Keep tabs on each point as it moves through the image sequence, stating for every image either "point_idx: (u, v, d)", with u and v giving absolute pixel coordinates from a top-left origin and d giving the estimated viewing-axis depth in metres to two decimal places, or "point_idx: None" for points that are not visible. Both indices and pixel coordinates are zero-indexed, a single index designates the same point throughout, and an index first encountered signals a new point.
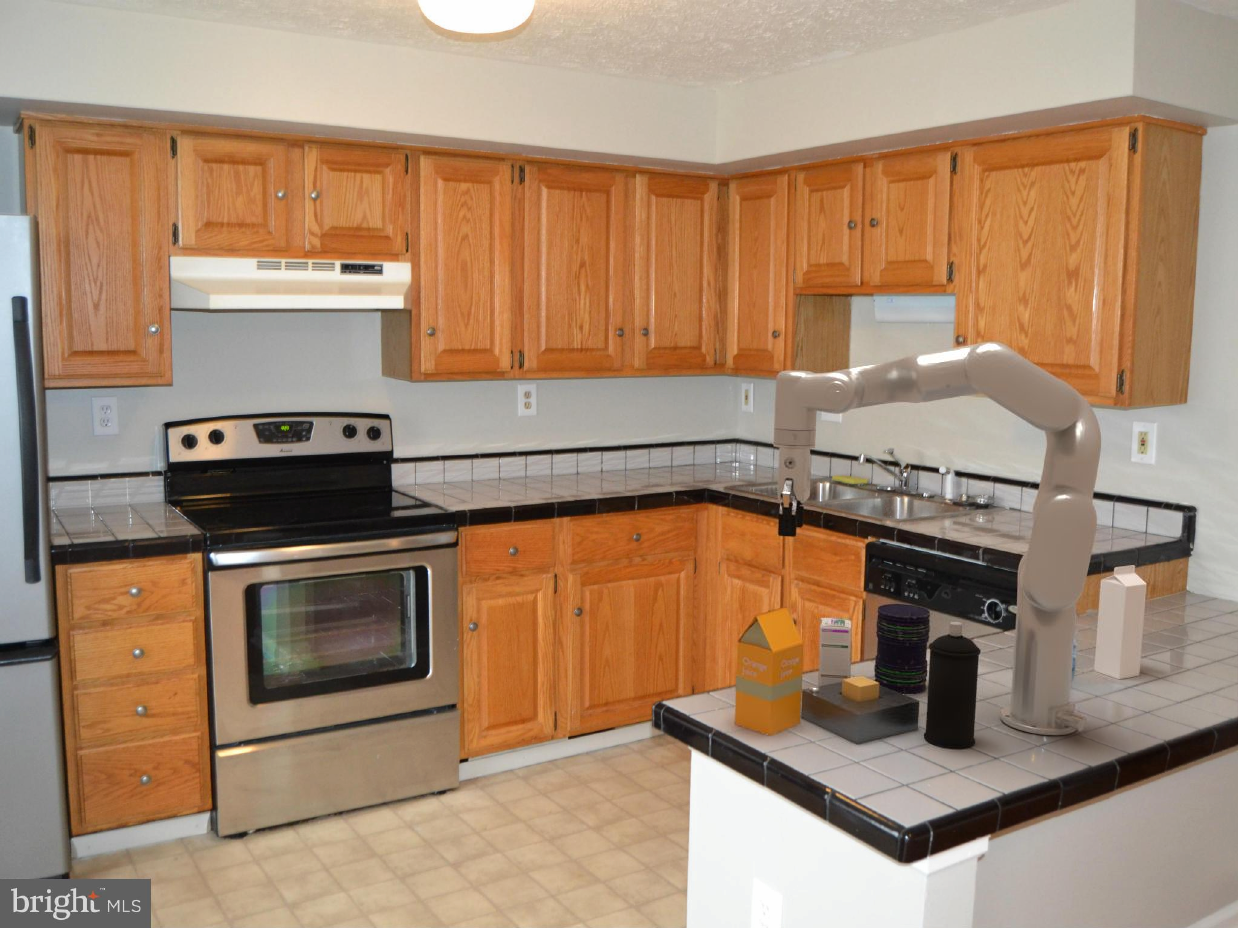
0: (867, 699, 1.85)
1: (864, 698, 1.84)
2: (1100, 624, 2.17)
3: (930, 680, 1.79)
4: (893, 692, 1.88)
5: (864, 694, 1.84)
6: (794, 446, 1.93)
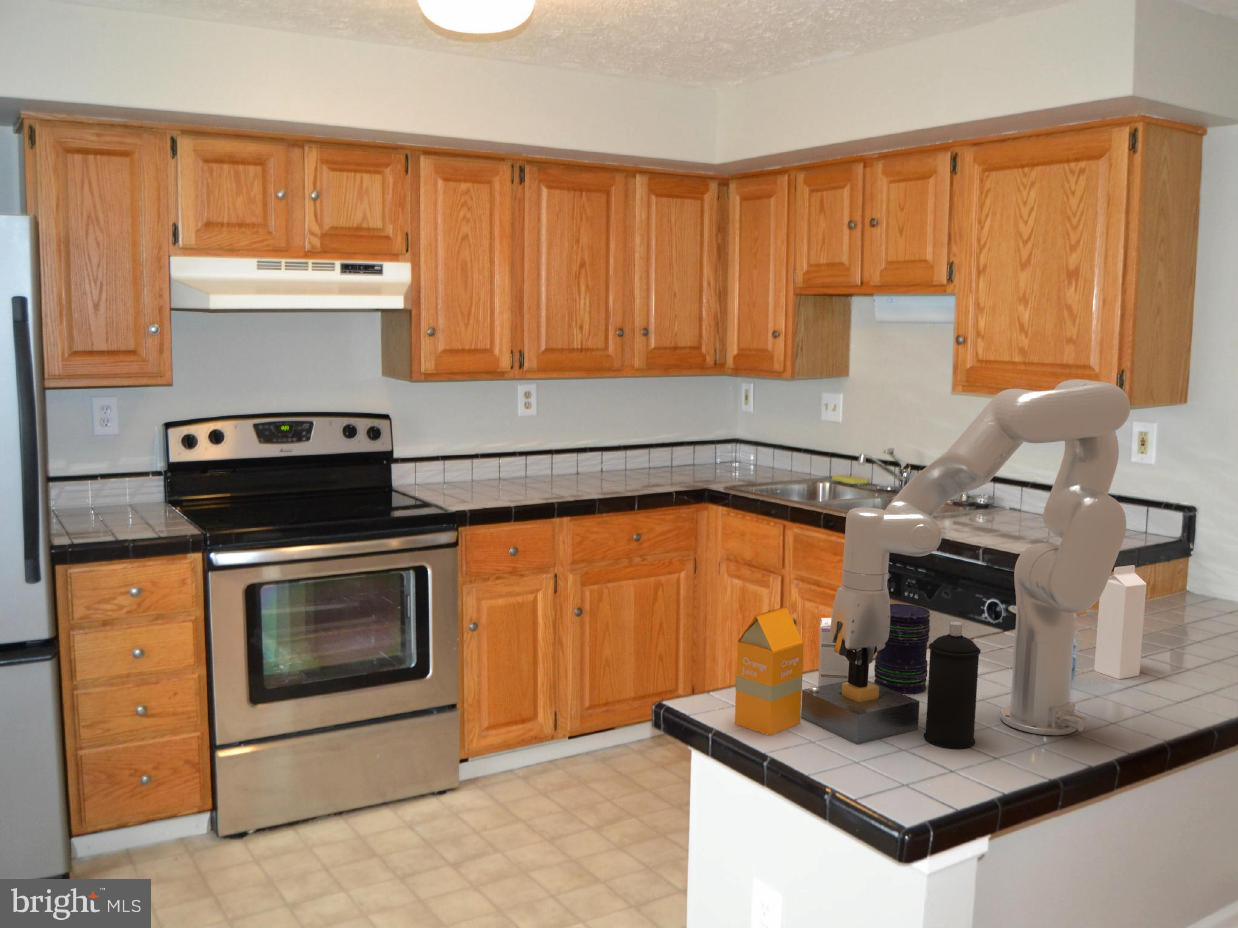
0: None
1: None
2: (1100, 624, 2.17)
3: (930, 680, 1.79)
4: (893, 692, 1.88)
5: (864, 698, 1.84)
6: None
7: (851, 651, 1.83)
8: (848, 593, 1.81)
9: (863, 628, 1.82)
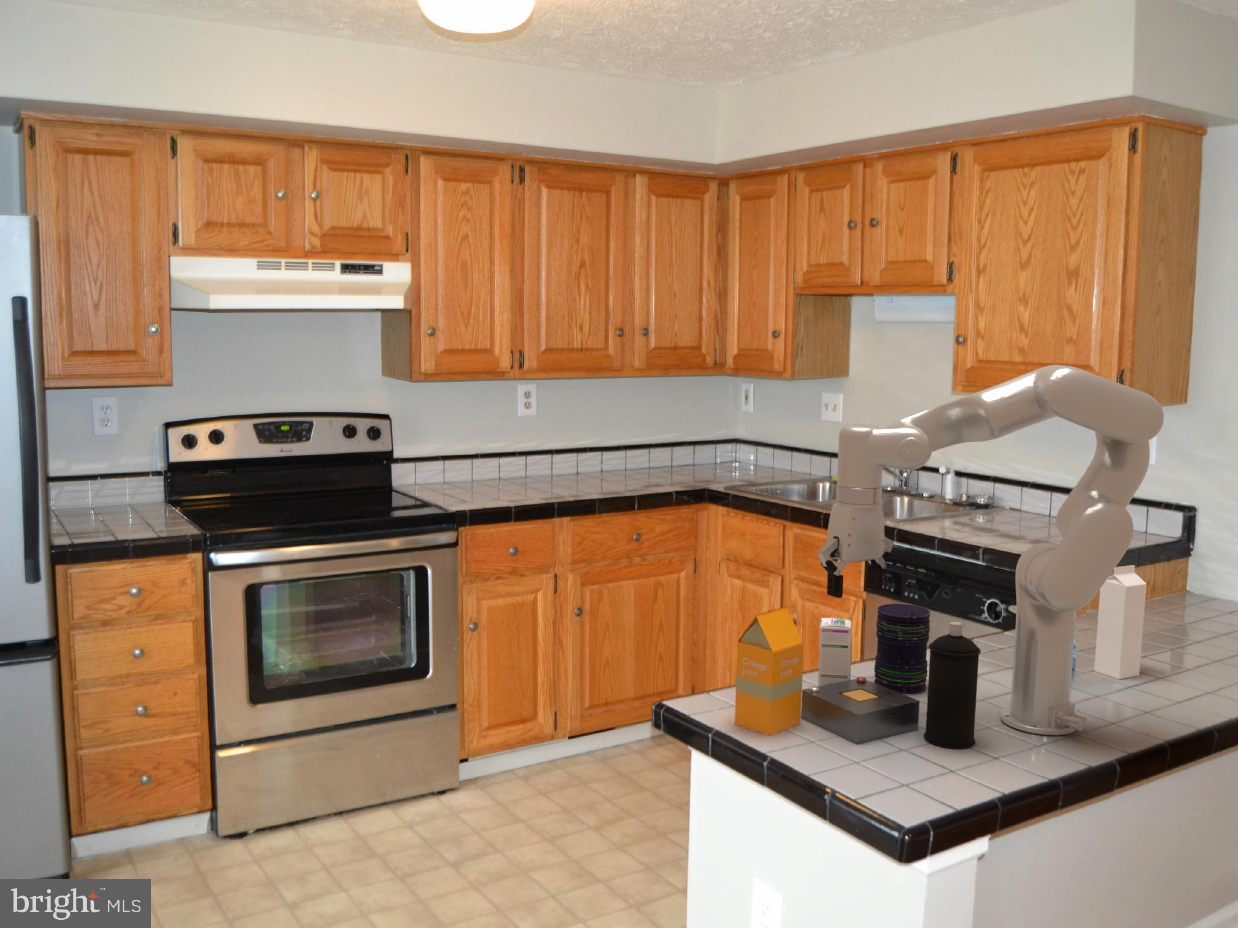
0: None
1: None
2: (1100, 624, 2.17)
3: (930, 680, 1.79)
4: (893, 692, 1.88)
5: None
6: None
7: (830, 561, 1.84)
8: (843, 508, 1.84)
9: (859, 542, 1.85)
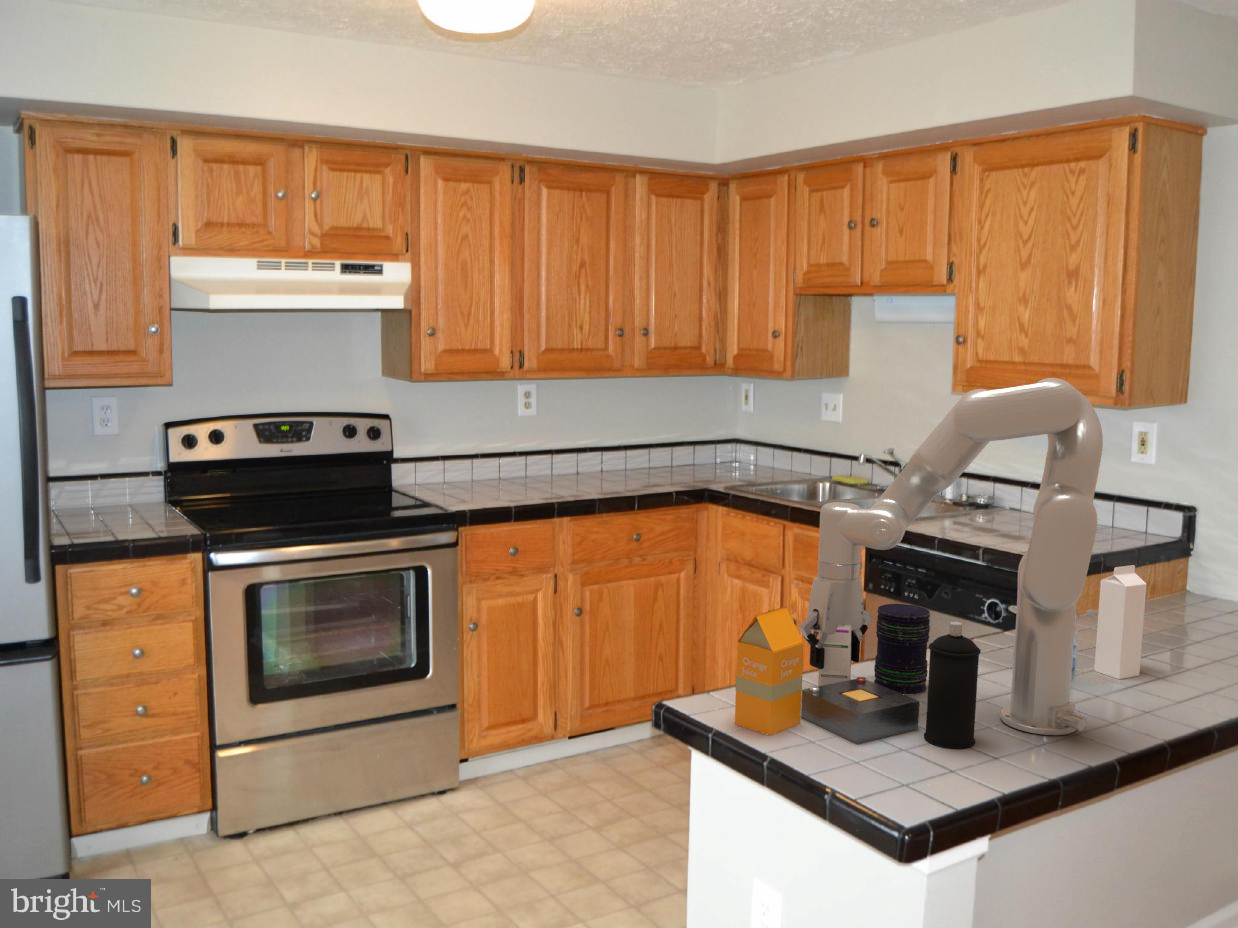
0: None
1: None
2: (1100, 624, 2.17)
3: (930, 680, 1.79)
4: (893, 692, 1.88)
5: None
6: None
7: (811, 635, 1.94)
8: (823, 582, 1.94)
9: (838, 615, 1.95)
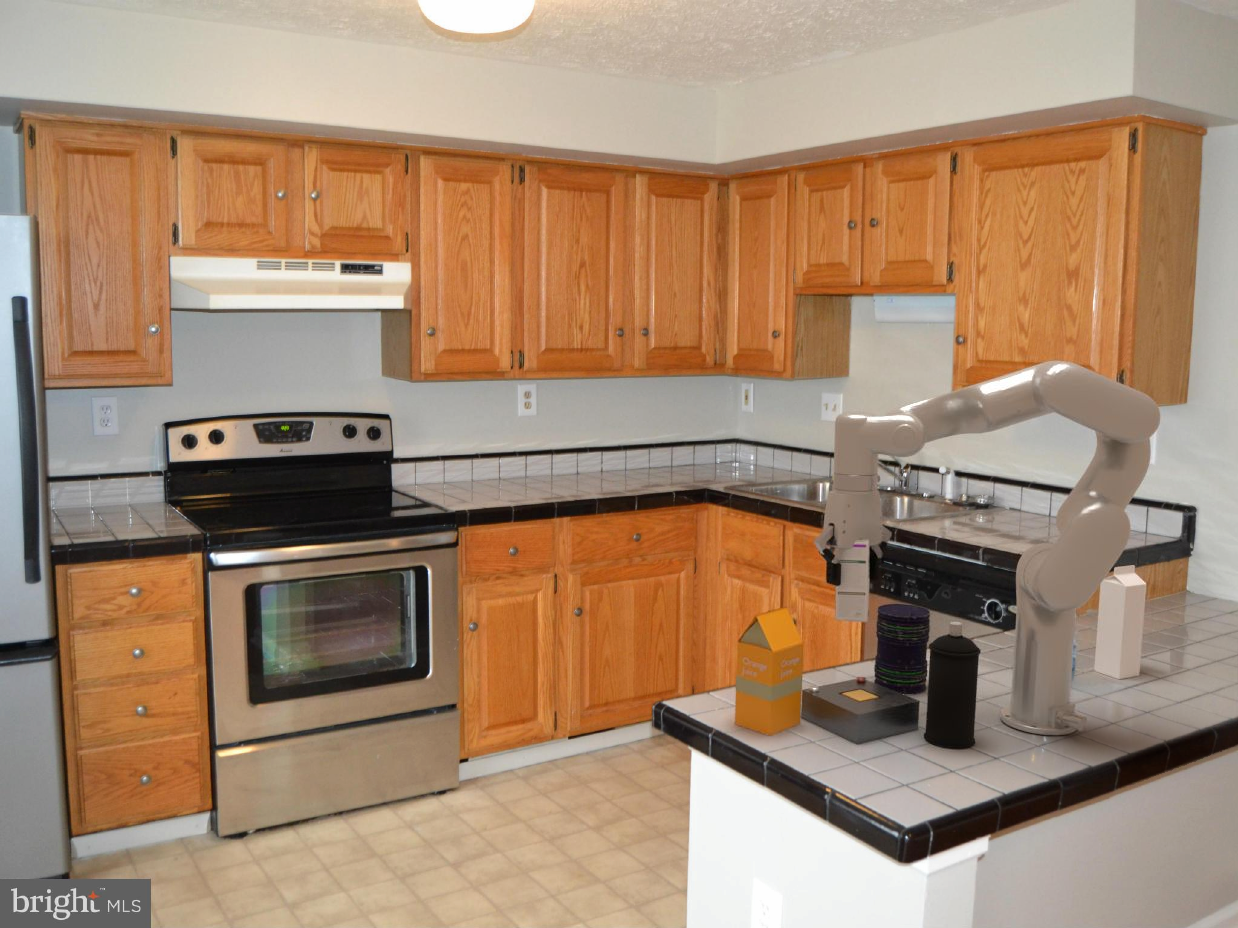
0: None
1: None
2: (1100, 624, 2.17)
3: (930, 680, 1.79)
4: (893, 692, 1.88)
5: None
6: None
7: (827, 549, 1.86)
8: (839, 494, 1.86)
9: (855, 528, 1.87)
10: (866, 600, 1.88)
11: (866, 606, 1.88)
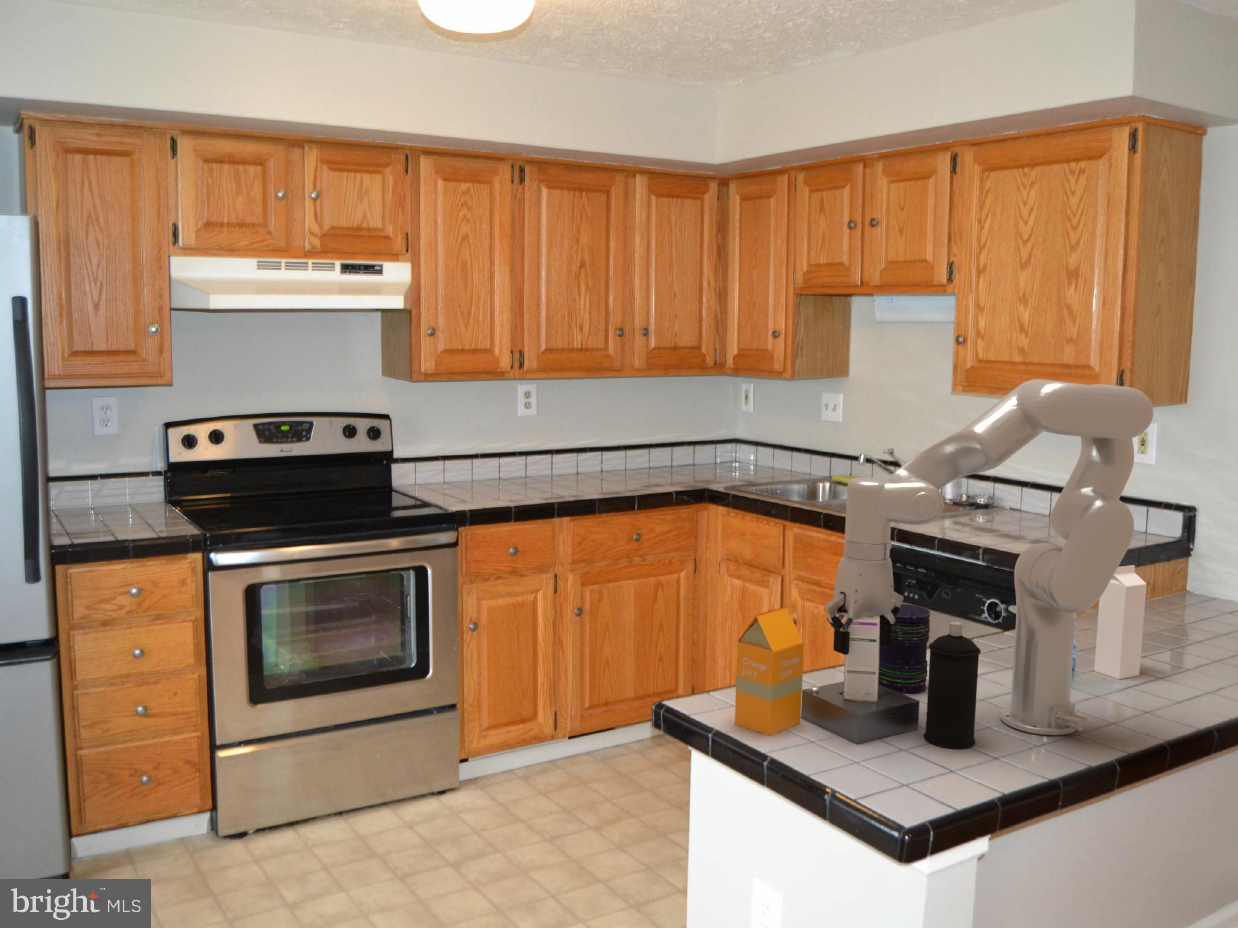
0: None
1: None
2: (1100, 624, 2.17)
3: (930, 680, 1.79)
4: (893, 692, 1.88)
5: None
6: None
7: (836, 617, 1.80)
8: (850, 563, 1.81)
9: (866, 598, 1.82)
10: (876, 679, 1.83)
11: (876, 685, 1.83)
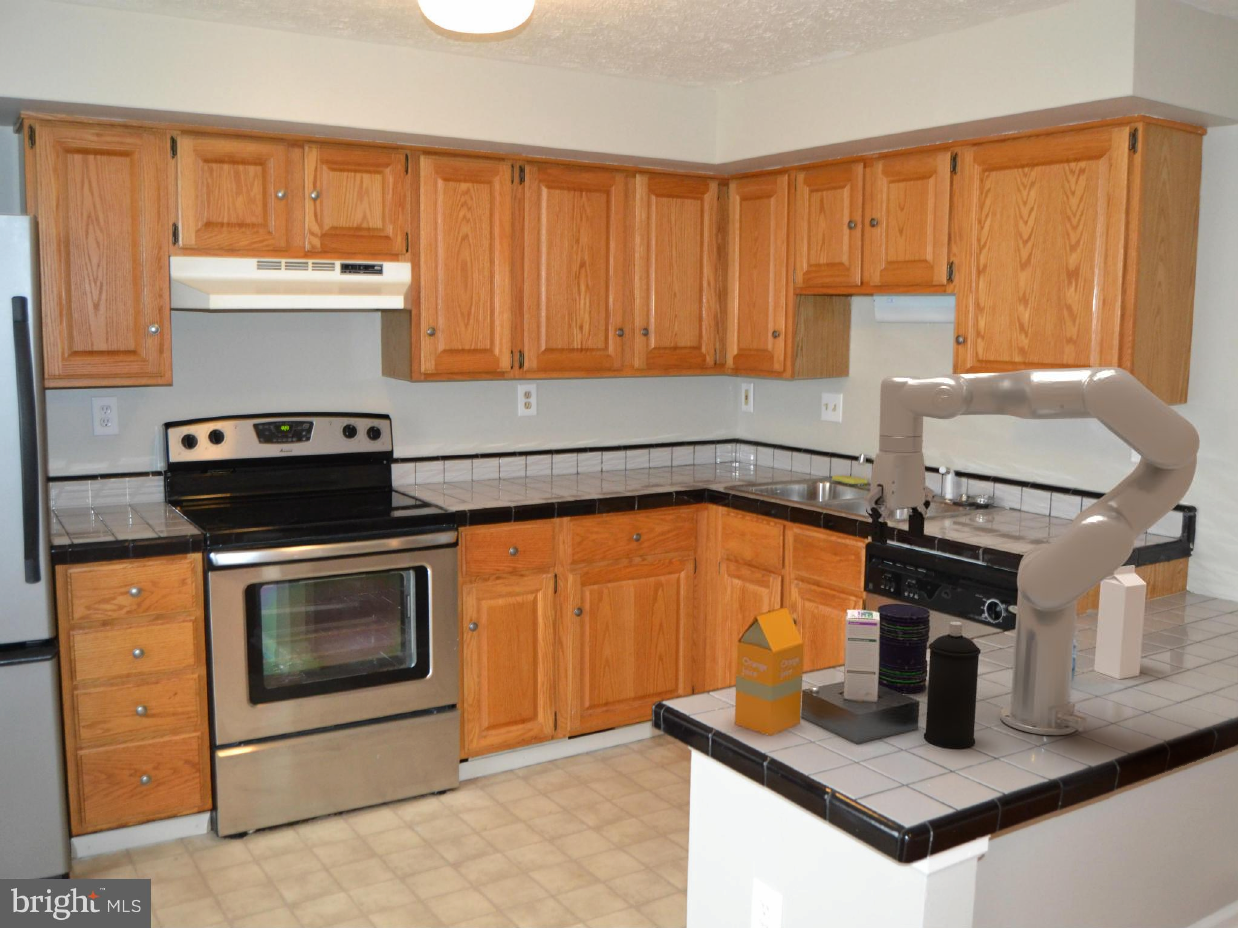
0: None
1: None
2: (1100, 624, 2.17)
3: (930, 680, 1.79)
4: (893, 692, 1.88)
5: None
6: None
7: (875, 508, 1.89)
8: (887, 456, 1.90)
9: (902, 489, 1.91)
10: (876, 679, 1.83)
11: (876, 685, 1.83)
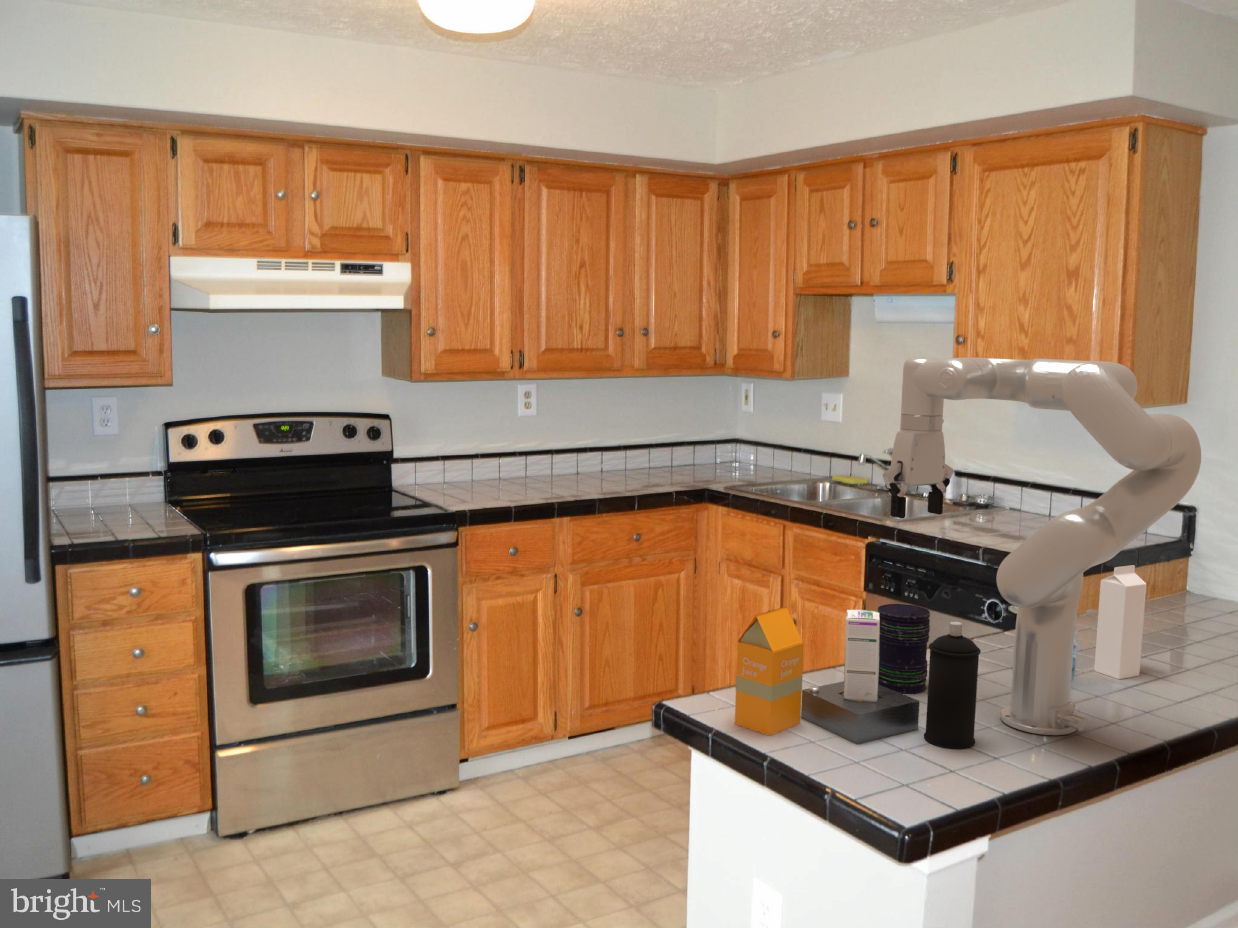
0: None
1: None
2: (1100, 624, 2.17)
3: (930, 680, 1.79)
4: (893, 692, 1.88)
5: None
6: None
7: (893, 483, 1.98)
8: (907, 434, 1.98)
9: (921, 466, 1.99)
10: (876, 679, 1.83)
11: (876, 685, 1.83)
